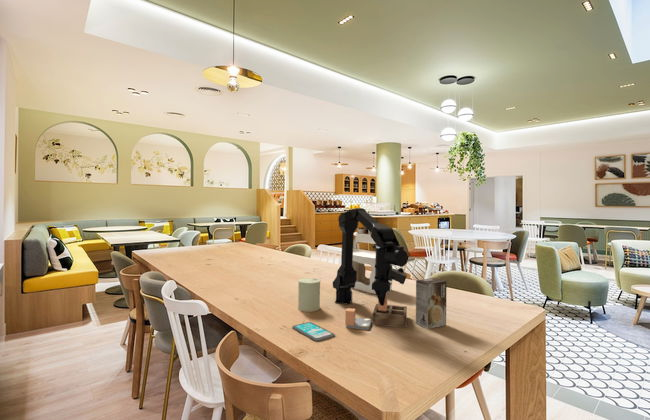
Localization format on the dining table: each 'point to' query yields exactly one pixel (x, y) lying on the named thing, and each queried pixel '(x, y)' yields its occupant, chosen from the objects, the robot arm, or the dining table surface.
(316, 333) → the smartphone
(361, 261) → the gable box
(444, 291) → the coffee box
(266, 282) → the dining table surface
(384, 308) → the peg
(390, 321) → the socket block
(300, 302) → the can
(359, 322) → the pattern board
